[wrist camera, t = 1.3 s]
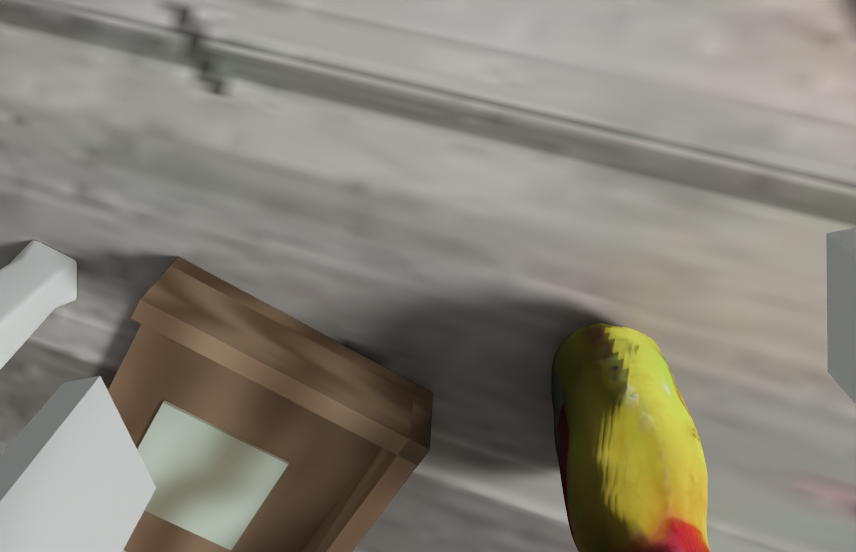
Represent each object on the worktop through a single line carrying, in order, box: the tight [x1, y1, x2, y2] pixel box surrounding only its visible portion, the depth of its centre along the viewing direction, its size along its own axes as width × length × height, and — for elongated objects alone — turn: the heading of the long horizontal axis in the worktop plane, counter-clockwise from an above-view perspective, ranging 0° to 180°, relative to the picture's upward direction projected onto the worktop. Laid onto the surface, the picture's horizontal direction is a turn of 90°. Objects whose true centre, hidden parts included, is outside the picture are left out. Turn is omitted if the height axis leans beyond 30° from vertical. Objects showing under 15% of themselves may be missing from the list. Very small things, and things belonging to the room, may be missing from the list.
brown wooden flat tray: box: [108, 257, 433, 552], centre depth 42 cm, size 16×20×5 cm
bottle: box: [552, 323, 710, 552], centre depth 33 cm, size 12×6×20 cm, turn 2°
